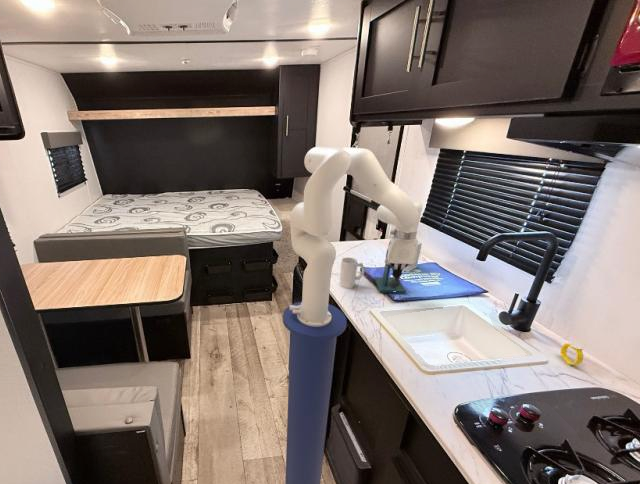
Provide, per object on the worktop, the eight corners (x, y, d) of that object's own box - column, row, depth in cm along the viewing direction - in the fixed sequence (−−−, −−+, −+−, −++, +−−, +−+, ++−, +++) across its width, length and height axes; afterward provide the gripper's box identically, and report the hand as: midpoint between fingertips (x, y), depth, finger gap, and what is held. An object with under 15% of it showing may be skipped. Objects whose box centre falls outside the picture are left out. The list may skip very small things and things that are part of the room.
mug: (340, 288, 137) (342, 263, 132) (337, 281, 143) (340, 257, 138) (363, 288, 136) (367, 263, 131) (360, 281, 142) (364, 257, 137)
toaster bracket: (405, 294, 130) (410, 266, 125) (379, 292, 132) (384, 265, 127) (397, 280, 141) (402, 254, 136) (374, 279, 143) (378, 254, 137)
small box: (404, 263, 157) (409, 239, 151) (416, 267, 152) (422, 242, 147) (395, 268, 153) (400, 243, 147) (408, 272, 148) (413, 246, 142)
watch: (555, 354, 95) (562, 338, 93) (565, 355, 95) (573, 339, 92) (569, 368, 90) (578, 351, 87) (581, 369, 89) (590, 352, 87)
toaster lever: (399, 287, 127) (401, 283, 125) (391, 287, 128) (393, 283, 125) (395, 263, 134) (397, 259, 131) (387, 263, 134) (389, 259, 132)
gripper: (386, 236, 116) (378, 280, 124) (429, 238, 114) (419, 282, 121) (381, 230, 123) (374, 272, 131) (422, 231, 120) (413, 274, 128)
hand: (396, 277), depth 126 cm, fingers closed
